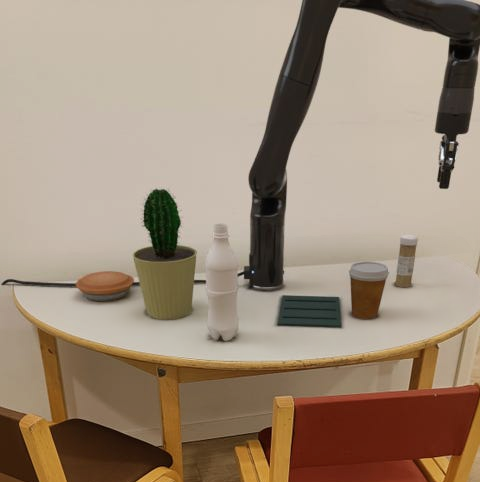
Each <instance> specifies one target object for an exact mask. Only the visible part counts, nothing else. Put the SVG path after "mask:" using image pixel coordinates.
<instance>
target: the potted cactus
mask: <svg viewBox="0 0 480 482" xmlns="http://www.w3.org/2000/svg"><path fill="white" fill-rule="evenodd" d="M145 194H146V197H147V198H145V196H144V197H143V199H144V200H142V201H143V202H142V203H141V205H143V209H141V211H143V213H141V216H142V215H143V217H141V220H142V222H140V224H142V225H141V228H145V230H146V231H147V235H148V238H150V239H149V240H148V241H147V242H149V243H150V245H149V246H146V247H141V248H139V249H137V250H135V251H133V253H132V257H133V262H134V266H135V267H134V268H135V270H136V271H135V272H136V275H137V279H138V282H139V283H140V285H139V286H140V291H141V294H142V295H141V296H142V298H143V303H144V306H145V311H146V314H147V316H149V317H151V318H154V319H156V320H157V319H158V320H176V319H180V318H184V317H187V316H188V315H189V314H191V312H192V309H193V308H192V307H193V297H194V285H195V283H194V280H195V274H196V265H197V264H196V263H197V254H198V251H197V249H195V248H193V247H192V246H187V245H183V244H181V243H180V242H179V241H178V240H179V239H180V238H181V236H180V235H179V234H180V233H179V231H180V227H181V228H183V223H182V219H183V217H181V216H180V213H179V212H181V211H182V209H180V210H179V209H178V207H179V205H178V203H177V202H176V201H175V197H174V196H172V195H173V193H172V192H171V190H170V188H167V189H165V188H159V189H158V188H154V189H151V190H150V191H149V193H148V194H147V192H145Z"/></svg>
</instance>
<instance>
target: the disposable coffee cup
mask: <svg viewBox="0 0 480 482" xmlns="http://www.w3.org/2000/svg"><path fill="white" fill-rule="evenodd" d="M348 274H349V278H350V279H349V280H350V302H351V306H350V308H351V316H352V317H354V318H357V319H361V320H372V319H375V318H377V317H378V316H379V315H378V314H379V312H380V311H379V310H380V306H381V302H382V298H383V294H384V290H385V286H386V282H387V279H388V276H389V275H390V271H389V267H388V265H386V264H384V263H381V262H375V261H358V262H355V263H352V264H351V265H350V268H349V270H348Z"/></svg>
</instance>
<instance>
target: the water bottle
mask: <svg viewBox="0 0 480 482" xmlns="http://www.w3.org/2000/svg"><path fill="white" fill-rule="evenodd" d="M228 226H229V225H228V224H227V223H215V224H213V226H212V227H213V232H212V238H213V240H212V244H211V247H210V249H209V251H208V252H207V256H206V258H205V261H204V267H205V280H206V283H205V292H206V296H207V301H208V311H207V312H208V314H207V318H206V327H207V330H208V334H209V336H210V337H211V338H212V339H213V340H214V341H218V340H219V339H220V337H221V338H222V340H223V342H226V341H227V342H228V341H230V340H232V339H233V338H235V337H236V336H237V334H238V332H239V327H240V319H239V315H238V308H237V299H238V298H237V297H238V291H239V282H238V281H239V279H238V278H239V277H238V273H239V272H238V271H239V270H238V268H239V262H238V259H237V256H236V254H235V252H234V250H233V248H232V246H231V244H230V241H229V238H230V235H229V231H228V230H229V227H228Z"/></svg>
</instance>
